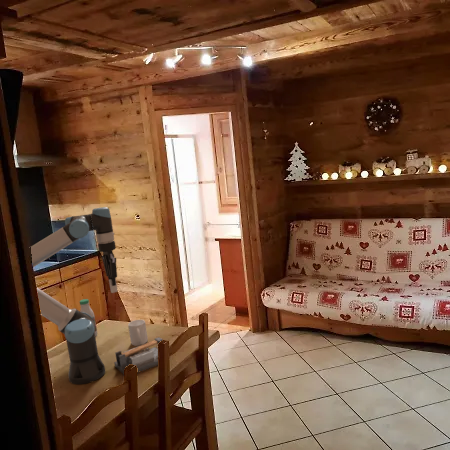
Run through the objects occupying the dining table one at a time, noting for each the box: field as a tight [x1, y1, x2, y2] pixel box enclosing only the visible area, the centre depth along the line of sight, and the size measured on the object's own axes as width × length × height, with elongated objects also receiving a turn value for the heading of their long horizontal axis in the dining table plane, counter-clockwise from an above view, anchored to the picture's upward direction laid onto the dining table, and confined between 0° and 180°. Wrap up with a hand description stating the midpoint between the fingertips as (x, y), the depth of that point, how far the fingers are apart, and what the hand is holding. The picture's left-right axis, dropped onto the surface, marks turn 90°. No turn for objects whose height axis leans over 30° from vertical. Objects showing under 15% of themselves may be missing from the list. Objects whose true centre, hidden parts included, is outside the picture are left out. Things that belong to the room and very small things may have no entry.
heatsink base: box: [113, 337, 164, 375], centre depth 197 cm, size 21×14×8 cm
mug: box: [127, 319, 149, 347], centre depth 218 cm, size 12×8×10 cm
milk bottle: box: [79, 298, 98, 338], centre depth 235 cm, size 8×8×20 cm
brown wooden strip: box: [118, 339, 158, 357], centre depth 196 cm, size 18×3×1 cm, turn 124°
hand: (114, 291), depth 205 cm, fingers closed
